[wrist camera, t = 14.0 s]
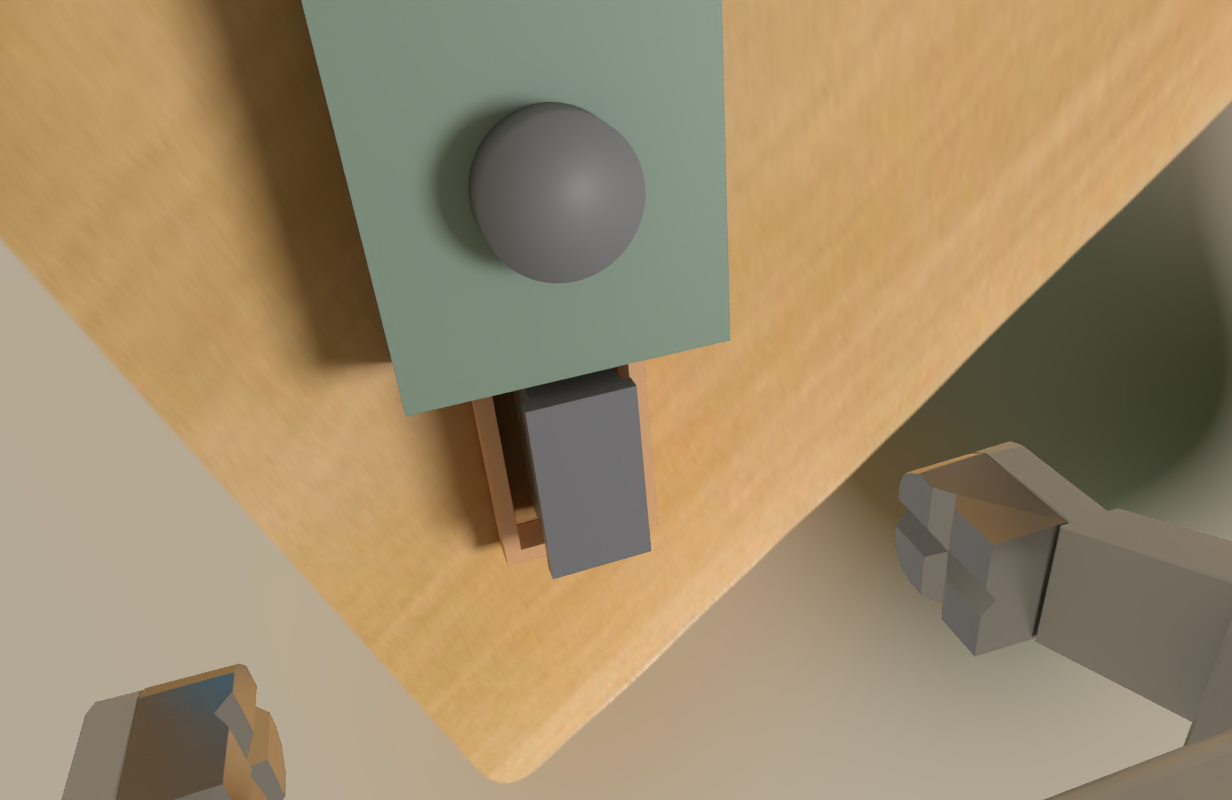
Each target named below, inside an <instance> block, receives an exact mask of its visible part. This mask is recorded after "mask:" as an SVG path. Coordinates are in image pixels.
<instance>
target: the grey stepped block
mask: <svg viewBox="0 0 1232 800" xmlns="http://www.w3.org/2000/svg"><path fill="white" fill-rule="evenodd" d="M513 393H514V399H515V405H516V410H517V416H518V422H519V428H520V434H521V439H522V445H523V451H524V457H525V462H526V468H527V474H528V480H529V486H530V491H531V497H532V503H533V508H534V510H535V513H536V515H537V517H538V520H539V522H540V525H541V527H542V531H543V537H544V542H545V548H546V554H547V560H548V566H549V570H550V572H551V575H552V578H553V579H555V578H559V577H562V576H566V575H569V574H573V573H576V572H580V571H583V570H587V569H590V568H594V567H597V566H601V565H604V564H608V563H611V562H615V561H618V560H622V559H625V558H629V557H632V556H636V555H639V554H642V553H646V552H649V551H651V542H650V531H649V519H648V508H647V497H646V486H645V474H644V463H643V452H642V441H641V429H640V418H639V407H638V395H637V386H636V384H635V383H634V382H633V380H632V379H631V377H630V378H626V379H621V378H620V377H619V375H618V374H617V372H616V371H615V369H614V368H609V369H605V370H601V371H597V372H592V373H588V374H584V375H580V376H575V377H571V378H567V379H563V380H558V381H554V382H550V383H546V384H541V385H537V386H533V387H529V388H524V389H520V390H516V391H513Z"/></svg>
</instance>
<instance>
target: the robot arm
mask: <svg viewBox="0 0 1232 800" xmlns="http://www.w3.org/2000/svg"><path fill="white" fill-rule="evenodd" d="M899 500H900V501H901V502H902V503H903V504H904V505H905V506H906V507H907V508H908V510H907V511H906V512H905V514H904V515H903V517H902V518H901V520H900V521H899V522H898V524H897V526H896V541H895V546H896V550H897V554H898V557H899V561H900V565H901V567H902V569H903V571H904V572H905V574H906V576H907V578H908V580H909V581H910V582H911V584H912V585H913V586H914V587H915V588H916V590H917V591H918V592H919V593H920V594H921V595H923V596H926V597H928V598H930V599H933V600H936V601H938V602H940V603H942V620H943V621H944V622H945V623H946V624H947V626H949V628H950V629H951V630H952V631H953V632H954V634H955V635H956V636H957V637H958V638H959V639H960V640H961V642H962V643H963V644H964V645H965V646H966V647H967V648H968V649H969V651H971V653H972V654H973V655H974V656H978V655H981V654H984V653H988V652H991V651H994V650H997V649H1001V648H1004V647H1007V646H1011V645H1014V644H1017V643H1020V642H1024V641H1027V640H1030V639H1033V638H1036V642H1038V643H1039V644H1041V645H1044V646H1045V647H1047V648H1049V649H1051V650H1053V651H1055V652H1057V653H1059V654H1061V655H1063V656H1065V657H1067V658H1069V659H1071V660H1073V661H1075V662H1076V663H1079V664H1080V665H1083V666H1084V667H1086V668H1088V669H1090V670H1092V671H1094V672H1096V673H1098V674H1100V675H1102V676H1104V677H1106V678H1108V679H1110V680H1111V681H1113V682H1116V683H1117V684H1119V685H1121V686H1123V687H1125V688H1127V689H1129V690H1131V691H1133V692H1135V693H1137V694H1139V695H1141V696H1143V697H1145V698H1147V699H1149V700H1151V701H1152V702H1154V703H1156V704H1158V705H1160V706H1162V707H1164V708H1166V709H1168V710H1170V711H1172V712H1174V713H1176V714H1178V715H1180V716H1182V717H1183V718H1186V719H1187V720H1189V721H1191V722H1192V724H1191V727H1190V730H1189V733H1188V735H1187V738H1186V740H1185V743H1184V746H1183V747H1181V748H1178V749H1176V750H1173V751H1170V752H1168V753H1165V754H1162V755H1160V756H1157V757H1155V758H1152V759H1149V760H1147V761H1144V762H1141V763H1139V764H1136V765H1134V766H1131V767H1128V768H1126V769H1123V770H1120V771H1118V772H1115V773H1113V774H1110V775H1107V776H1105V777H1102V778H1099V779H1097V780H1094V781H1091V782H1089V783H1086V784H1084V785H1081V786H1078V787H1076V788H1073V789H1070V790H1068V791H1065V792H1062V793H1060V794H1057V795H1055V796H1052V797H1049V798H1047V799H1044V800H1232V542H1231V541H1228V540H1225V539H1221V538H1218V537H1214V536H1211V535H1207V534H1204V533H1200V532H1197V531H1193V530H1190V529H1187V528H1183V527H1180V526H1176V525H1173V524H1169V523H1166V522H1163V521H1159V520H1156V519H1152V518H1149V517H1145V516H1142V515H1139V514H1135V513H1132V512H1128V511H1124V510H1121V509H1115V510H1111V511H1108V512H1107V511H1106V510H1105V509H1104V508H1102V507H1101V506H1100V505H1098V504H1097V503H1096V502H1094V501H1093V500H1092V499H1090V498H1089V497H1088V496H1087V495H1085V494H1084V493H1083V492H1082V491H1080V490H1079V489H1078V488H1076V487H1075V486H1074V485H1073V484H1071V483H1070V482H1069V481H1067V480H1066V479H1065V478H1063V477H1062V476H1061V475H1060V474H1058V473H1057V472H1056V471H1054V470H1053V469H1052V468H1051V467H1049V466H1048V465H1047V464H1045V463H1044V462H1043V461H1042V460H1040V459H1039V458H1038V457H1036V456H1035V455H1034V454H1032V453H1031V452H1030V451H1029V450H1027V449H1026V448H1025V447H1023V446H1022V445H1020V444H1016V443H1013V442H1007V443H1003V444H1000V445H997V446H994V447H990V448H987V449H984V450H980V451H977V452H975V453H974V454H968V455H965V456H962V457H958V458H955V459H952V460H948V461H945V462H941V463H938V464H935V465H932V466H928V467H925V468H921V469H918V470H914V471H911V472H908V473H906V474H905V475H904V477H903V479H902V481H901V482H900V490H899ZM256 690H257V686H256V683H255V682H254V680H253V678H252V676H251V674H250V672H249V670H248V668H247V667H246V666H245V665H242V664H236V665H232V666H229V667H225V668H221V669H217V670H213V671H210V672H205V673H202V674H198V675H195V676H190V677H186V678H183V679H179V680H175V681H171V682H168V683H164V684H160V685H156V686H152V687H148V688H145V689H144V690H142V691H138V692H134V693H130V694H126V695H122V696H118V697H114V698H110V699H106V700H103V701H99V702H95V703H94V705H93V706H92V707H91V708H90V710H89V711H88V712H87V714H86V715H85V718H84V722H83V725H82V728H81V732H80V736H79V739H78V743H77V747H76V750H75V754H74V757H73V761H72V764H71V768H70V771H69V775H68V778H67V782H66V786H65V789H64V793H63V796H62V800H283V799H284V797H285V789H286V783H285V782H286V771H285V764H284V757H283V749H282V744H281V741H280V738H279V734H278V731H277V728H276V725H275V723H274V721H273V719H272V717H271V715H270V713H269V712H267V711H265V710H263V709H261V708H258V707H256V705H255V704H256Z"/></svg>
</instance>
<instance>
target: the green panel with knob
mask: <svg viewBox="0 0 1232 800" xmlns="http://www.w3.org/2000/svg"><path fill="white" fill-rule="evenodd" d="M301 2H302V6H303V10H304V14H305V18H306V22H307V26H308V30H309V34H310V38H311V41H312V45H313V49H314V53H315V57H316V61H317V65H318V69H319V73H320V77H321V81H322V85H323V89H324V93H325V97H326V101H327V105H328V109H329V113H330V117H331V121H332V125H333V129H334V133H335V137H336V141H337V145H338V149H339V153H340V157H341V161H342V165H343V169H344V173H345V177H346V181H347V185H348V189H349V193H350V197H351V201H352V205H353V209H354V213H355V217H356V221H357V225H358V229H359V232H360V236H361V240H362V244H363V248H364V252H365V256H366V260H367V264H368V268H369V272H370V276H371V280H372V284H373V288H374V292H375V296H376V300H377V304H378V308H379V312H380V316H381V320H382V324H383V328H384V332H385V336H386V340H387V344H388V348H389V352H390V356H391V360H392V364H393V368H394V372H395V376H396V380H397V384H398V388H399V392H400V396H401V400H402V404H403V408H404V412H405V416H409V415H414V414H418V413H422V412H426V411H431V410H435V409H439V408H443V407H448V406H452V405H456V404H460V403H465V402H469V401H471V402H472V407H473V412H474V417H475V422H476V427H477V432H478V436H479V441H480V446H481V451H482V456H483V461H484V466H485V471H486V476H487V481H488V486H489V490H490V495H491V500H492V505H493V510H494V515H495V520H496V525H497V530H498V535H499V540H500V544H501V547H502V550H503V553H504V556H505V559H506V562H507V565H508V566H512V565H516V564H519V563H523V562H526V561H530V560H533V559H537V558H540V557H544V556H547V554H546V548H545V542H544V537H543V531H542V527H541V525H540V522H539V520H535V521H531V522H527V523H524V524H520V525H516V520H515V514H514V509H513V504H512V498H511V493H510V488H509V482H508V477H507V472H506V467H505V461H504V456H503V451H502V445H501V440H500V435H499V429H498V424H497V419H496V414H495V408H494V403H493V398H492V396H495V395H499V394H503V393H507V392H512V391H516V390H520V389H524V388H529V387H533V386H537V385H541V384H546V383H550V382H554V381H558V380H563V379H567V378H571V377H575V376H580V375H584V374H588V373H592V372H597V371H601V370H605V369H609V368H614V367H617V372H618V375H619V377H620V378H621V379H626V378H630V377H631V379H632V380H633V382H634V383H635V384H636V386H637V395H638V407H639V418H640V429H641V441H642V452H643V463H644V474H645V486H646V497H647V508H648V519H649V527H651V526H655V525H658V517H657V505H656V493H655V481H654V469H653V457H652V445H651V432H650V420H649V408H648V396H647V384H646V372H645V360H648V359H652V358H656V357H661V356H665V355H669V354H673V353H678V352H682V351H686V350H690V349H695V348H699V347H703V346H707V345H712V344H716V343H720V342H724V341H729V340H730V308H729V268H728V227H727V187H726V147H725V107H724V67H723V26H722V0H301Z"/></svg>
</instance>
